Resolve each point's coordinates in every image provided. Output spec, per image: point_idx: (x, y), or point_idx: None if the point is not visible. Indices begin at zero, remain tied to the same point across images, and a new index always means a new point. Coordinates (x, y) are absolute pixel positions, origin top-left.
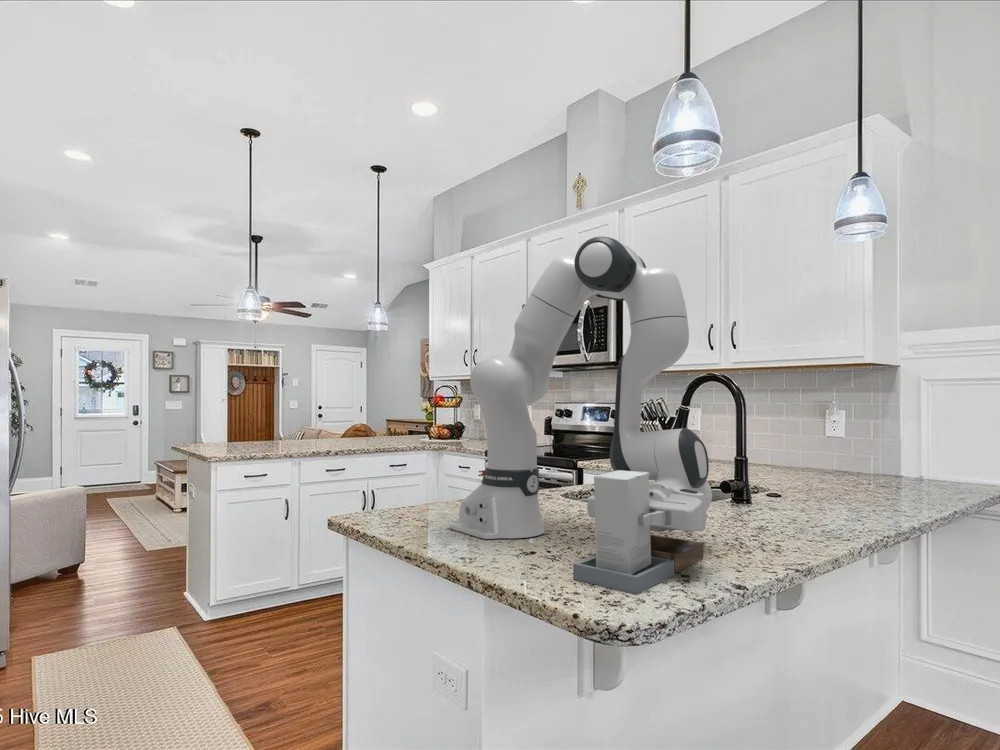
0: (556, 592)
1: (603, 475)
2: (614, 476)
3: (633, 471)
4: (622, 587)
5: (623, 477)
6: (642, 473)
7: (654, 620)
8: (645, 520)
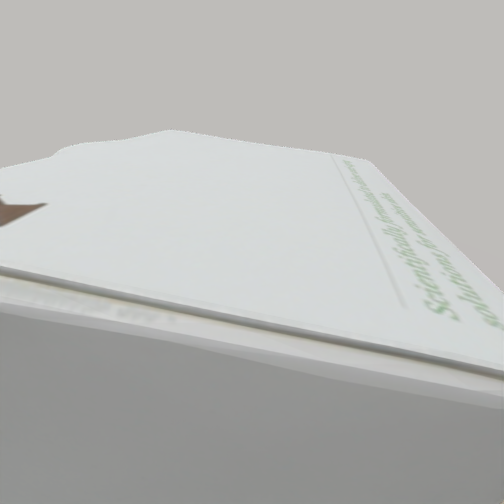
0: None
1: (329, 157)
2: (254, 146)
3: (138, 263)
4: None
5: (193, 136)
6: (6, 171)
7: None
8: None
